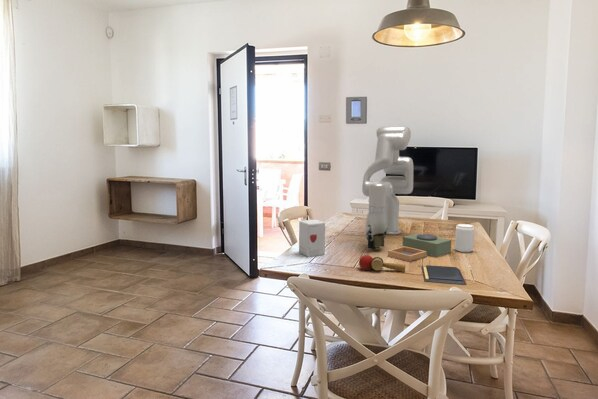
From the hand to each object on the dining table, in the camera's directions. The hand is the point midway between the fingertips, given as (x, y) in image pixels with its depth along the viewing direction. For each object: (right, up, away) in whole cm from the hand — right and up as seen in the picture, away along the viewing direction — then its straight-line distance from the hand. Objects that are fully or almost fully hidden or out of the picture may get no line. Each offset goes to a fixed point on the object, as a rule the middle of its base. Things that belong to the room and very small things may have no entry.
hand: (375, 247), depth 196 cm
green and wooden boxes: (+18, -2, -6) cm, 19 cm away
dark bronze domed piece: (0, -2, 0) cm, 2 cm away
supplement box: (-30, -3, -6) cm, 31 cm away
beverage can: (+41, -2, 0) cm, 41 cm away
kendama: (-3, -6, -30) cm, 30 cm away
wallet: (+19, -8, -36) cm, 41 cm away
